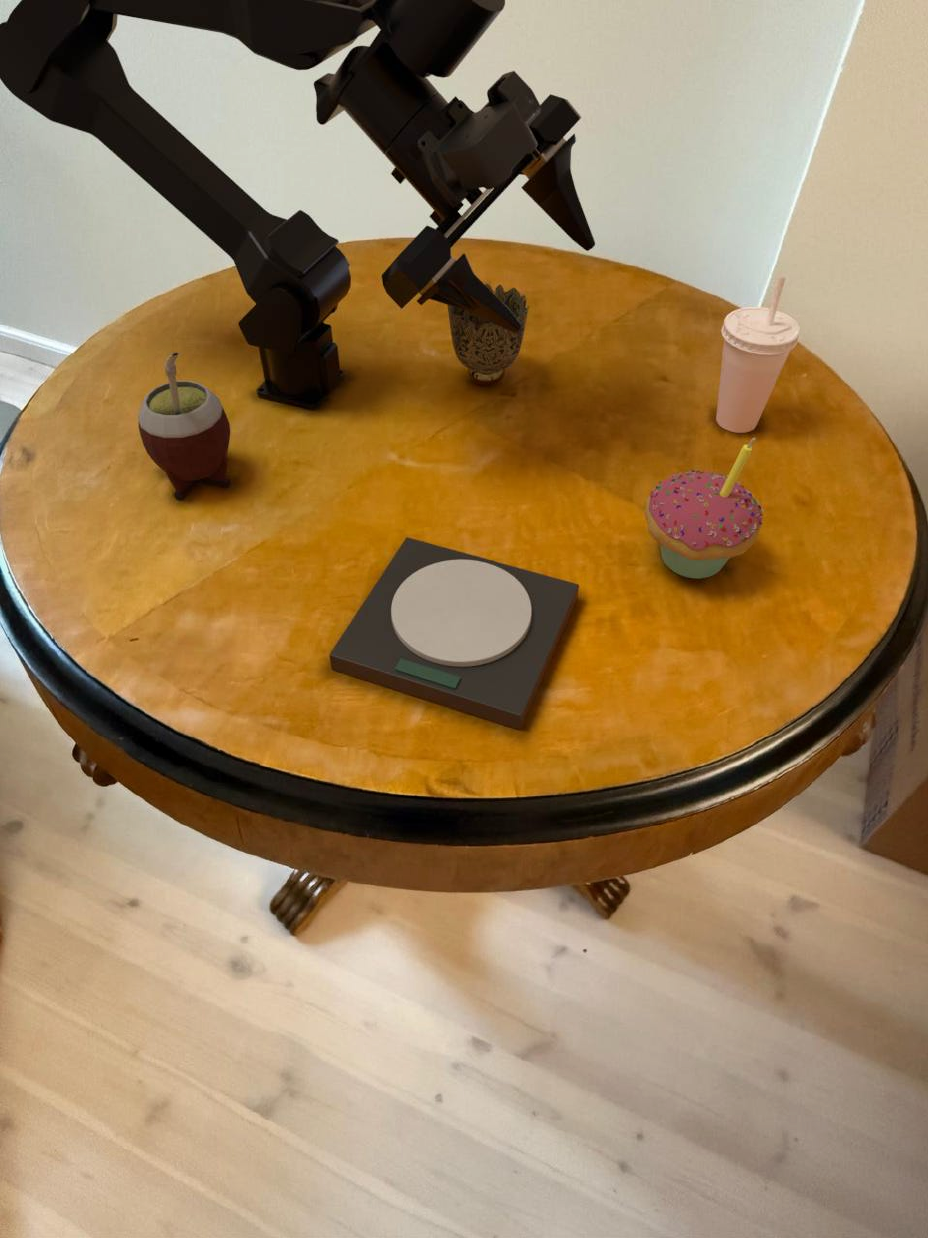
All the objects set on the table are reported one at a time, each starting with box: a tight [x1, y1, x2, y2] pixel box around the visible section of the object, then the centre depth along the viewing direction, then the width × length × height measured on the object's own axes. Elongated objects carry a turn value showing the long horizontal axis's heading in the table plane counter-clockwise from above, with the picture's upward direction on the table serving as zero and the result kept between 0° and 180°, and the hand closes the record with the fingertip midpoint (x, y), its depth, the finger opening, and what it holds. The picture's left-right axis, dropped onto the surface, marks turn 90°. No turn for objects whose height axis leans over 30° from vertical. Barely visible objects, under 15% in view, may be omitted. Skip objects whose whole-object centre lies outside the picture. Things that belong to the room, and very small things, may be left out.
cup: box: [447, 283, 530, 387], centre depth 85 cm, size 8×7×8 cm
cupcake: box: [644, 437, 765, 580], centre depth 66 cm, size 9×8×12 cm
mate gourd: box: [137, 351, 232, 501], centre depth 71 cm, size 8×8×15 cm
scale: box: [328, 536, 580, 731], centre depth 64 cm, size 14×13×2 cm
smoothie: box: [715, 274, 801, 434], centre depth 78 cm, size 6×6×14 cm
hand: (555, 288), depth 70 cm, fingers open, 9 cm apart
